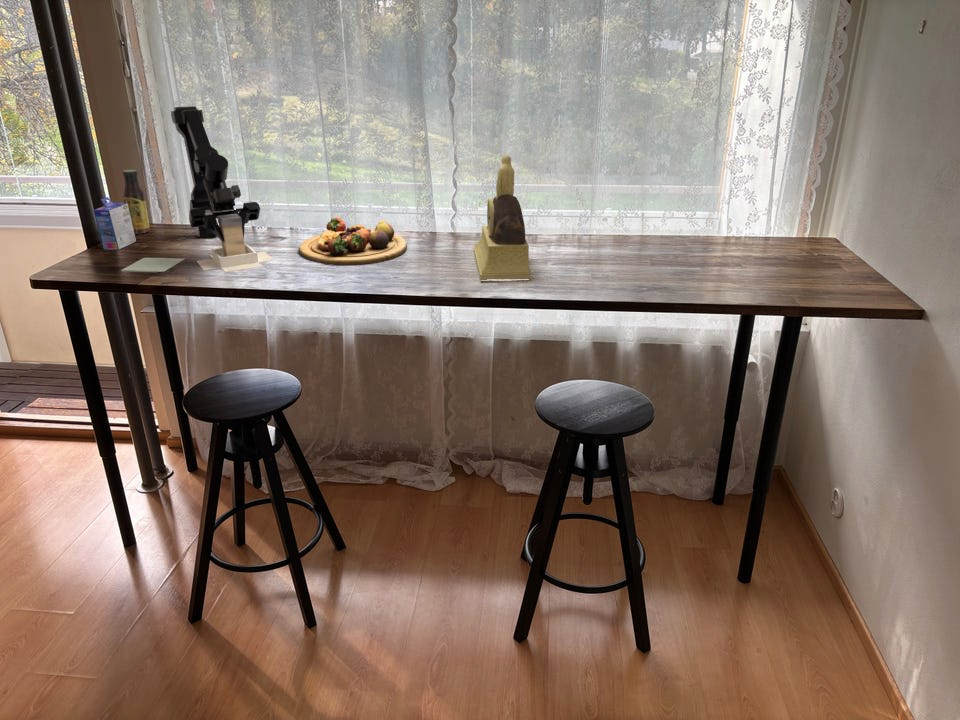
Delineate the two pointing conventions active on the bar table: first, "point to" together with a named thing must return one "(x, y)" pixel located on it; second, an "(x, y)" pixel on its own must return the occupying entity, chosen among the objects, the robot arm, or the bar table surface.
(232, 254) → the box
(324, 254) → the wooden plate with food
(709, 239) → the bar table surface
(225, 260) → the carton
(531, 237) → the bar table surface
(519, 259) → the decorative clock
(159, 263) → the rubber pad
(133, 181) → the sauce bottle
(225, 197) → the robot arm
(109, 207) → the ink cartridge box
